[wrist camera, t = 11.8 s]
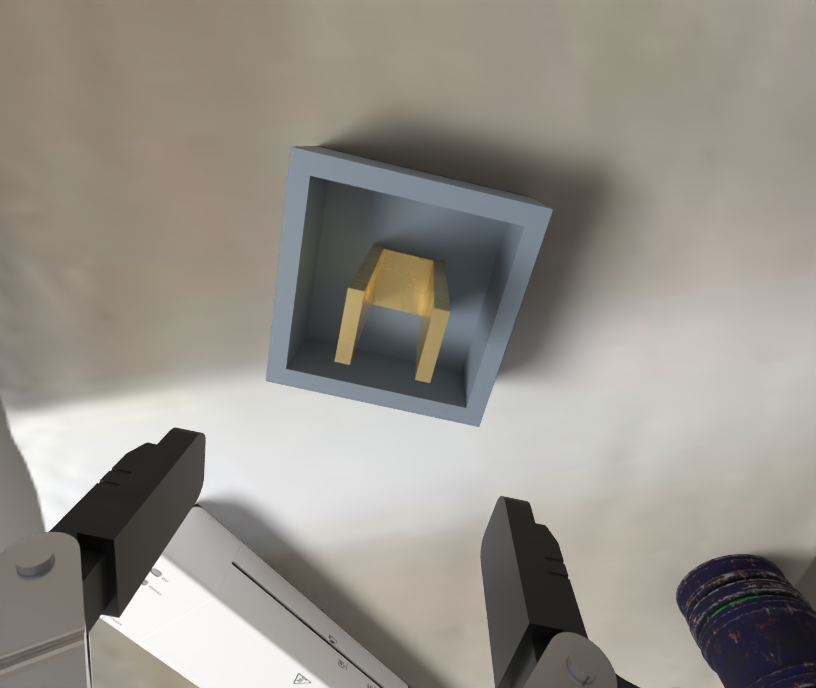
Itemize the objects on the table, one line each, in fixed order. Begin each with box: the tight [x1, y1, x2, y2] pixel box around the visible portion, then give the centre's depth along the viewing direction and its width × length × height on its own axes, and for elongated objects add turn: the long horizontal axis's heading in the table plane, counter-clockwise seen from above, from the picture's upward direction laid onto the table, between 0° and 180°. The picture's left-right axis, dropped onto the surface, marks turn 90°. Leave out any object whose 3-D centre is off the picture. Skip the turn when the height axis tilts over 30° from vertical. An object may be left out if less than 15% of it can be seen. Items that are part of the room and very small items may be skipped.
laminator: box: [100, 504, 410, 688], centre depth 47 cm, size 34×12×6 cm, turn 37°
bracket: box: [334, 244, 450, 383], centre depth 27 cm, size 5×4×10 cm
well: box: [266, 146, 553, 427], centre depth 30 cm, size 14×14×6 cm
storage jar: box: [676, 554, 816, 688], centre depth 37 cm, size 10×10×15 cm
